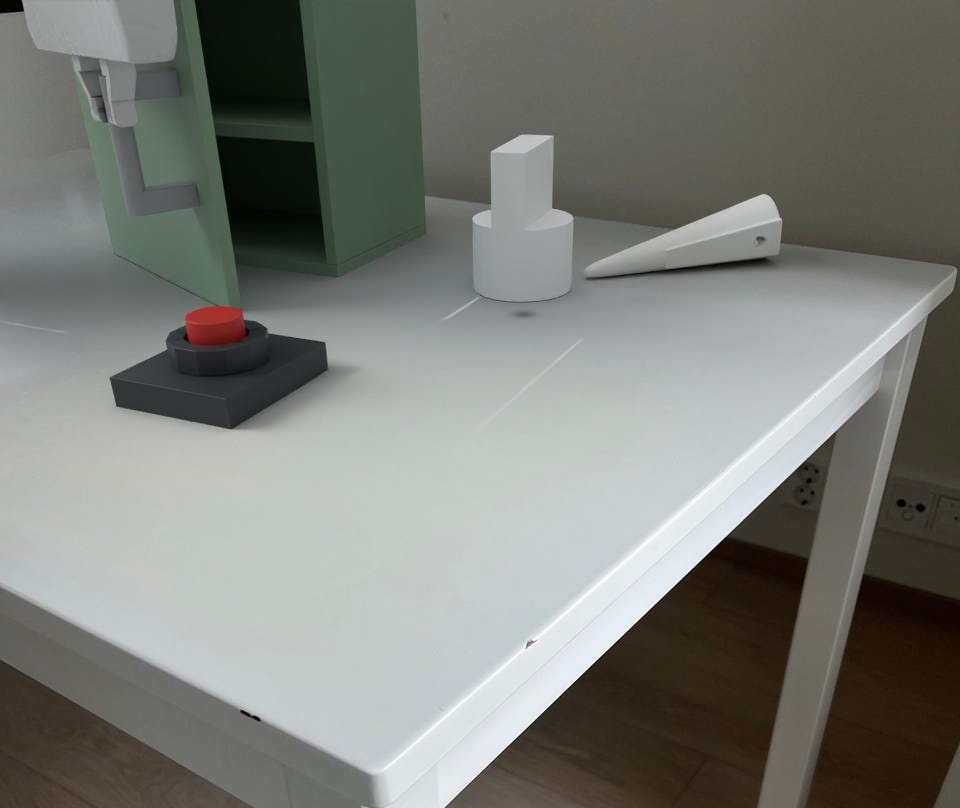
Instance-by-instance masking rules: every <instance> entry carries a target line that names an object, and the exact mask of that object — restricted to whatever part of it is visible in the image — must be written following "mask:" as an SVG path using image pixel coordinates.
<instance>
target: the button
mask: <svg viewBox="0 0 960 808" xmlns="http://www.w3.org/2000/svg"><path fill="white" fill-rule="evenodd" d="M244 320H245V317H244V313H243V311H242V310H240V309H237V308H234V307H227V306H218V305H215V306H207V307H201V308H198V309H195V310H191V311H190V312H188V313H186V315H184V324H185V325H186V329H187V334H188V339H189V343H191V344H197V345H222V344H226V343H231V342H236V341H239V340H241V339H243V338H245V337H246V330H245V324H244Z"/></svg>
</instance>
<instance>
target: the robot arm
mask: <svg viewBox="0 0 960 808" xmlns="http://www.w3.org/2000/svg"><path fill="white" fill-rule="evenodd" d="M21 2H22V6H23V7H22V8H23V11H24V12H23V13H24V17H25V22H26V25H27V29H28V32H29V35H30V37H31V39H32V42H33V43H34V45H35V47H36V48H37V49H38V50H40V51H46V52H53V53H58V54H64V55H65V54H66V55H69V54H71V56H72V60H73V64H74V69H75V72H76V74H77V76H78V78H79V80H80V82H81V85H82V87H83V89H84V91H85V93H86V95H87V96H88V100H89V105H90V109H91V113H92V117H93V119H94V120H96V121H98V122H103V123H108V120H109V122H110V123H111V124H112V125H114V126H118V127H121V128H122V127H130V126H135V125H136V124H137V123H138V117H137V112H136V106H135V101H134V99H135V89H136V78H137V73H136V68H135V64H145V63H157V62H165V61H171V60H173V59H174V57H175V53H176V48H177V40H178V34H177V23H176V15H175V7H174V0H21ZM100 75H103V76H106V85H107V96H108V100H103V95H102V90H101V85H100V81H99V76H100ZM104 102H105V104H104ZM105 106H106V109H105ZM106 110H107V113H108V119H107V114H106Z"/></svg>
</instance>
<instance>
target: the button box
mask: <svg viewBox="0 0 960 808" xmlns="http://www.w3.org/2000/svg"><path fill="white" fill-rule="evenodd" d="M244 324H245V330H246V337H245V338H243V339H241V340H239V341H236V342H231V343H226V344H222V345H197V344H191V343H189V339H188V334H187V329H186V324H185V325H182V326H181V327H177V328H176V329H174V330H172V331H170V332H169V333H168V335H167V337H166V338H165V345H166V346H165V347H166V349H165V350H163V351H160V352H159V353H157V354H154V355H153V356H150V357H149V358H147V359H144V360H142V361H140V362H138V363H136V364H134V365H132V366H130V367H128V368H125V369H123V370H122V371H120V372H118V373H115V374H113V375H111V376H109V381H110V386H111V390H112V394H113V398H114V402H115V403H114V404H115V406H116V407H117V408H121V409H126V410H131V411H136V412H142V413H147V414H152V415H157V416H162V417H167V418H172V419H176V420H182V421H186V422H192V423H197V424H202V425H207V426H212V427H217V428H223V429H227V430H233V429H235V428H236V427H238V426H240V425H241V424H243V423H245V422H246V421H248V420H250V419H251V418H252V417H254V416H256V415H257V414H259V413H261V412H262V411H264V410H266V409H267V408H269V407H271V406H272V405H274V404H275V403H277V402H279V401H280V400H282V399H284V398H285V397H287V396H289V395H291V394H292V393H293V392H295V391H296V390H298V389H300V388H302V387H303V386H305V385H306V384H308V383H310V382H312V381H313V380H314V379H317V378H318V377H319V376H321V374H324V373H325V372H327V371H328V370H329V360H328V353H327V344H326V342H325V341H323V340H316V339H315V340H314V339H307V338H301V337H295V336H289V335H283V334H276V333H270V332H269V329H268V327H266V326H265V325H263V324H262V323H260V322H258V321H256V320H250V319H244Z"/></svg>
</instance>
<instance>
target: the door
mask: <svg viewBox="0 0 960 808" xmlns="http://www.w3.org/2000/svg"><path fill="white" fill-rule="evenodd" d="M174 7H175V15H176V23H177V34H178V40H177V48H176V53H175V57H174V59H173V60H171V61H165V62H157V63H145V64H135V68H136V73H137V78H136V89H135V99H134V101H135V106H136V112H137V117H138V123H137V124H136V125H135V126H130V127H122V128H121V127H118V126H114V125H112V124H111V123H110V122H109V120H108V123H103V122H98V121H96V120H94V119H93V117H92V113H91V109H90V105H89V100H88V96H87V95H86V93H85V91H84V89H83V87H82V85H81V82H80V80H79V78H78V76H77V74H76V72H75V69H74V64H73V60H72V56H71V54H68V55H69V59H70V64H71V68H72V73H73V77H74V81H75V82H74V83H75V86H76V89H77V95H78V99H79V104H80V108H81V113H82V117H83V122H84V127H85V130H86V136H87V141H88V144H89V148H90V152H91V153H90V154H91V158H92V163H93V167H94V171H95V177H96V180H97V185H98V189H99V194H100V198H101V202H102V203H101V204H102V209H103V213H104V216H105V221H106V225H107V230H108V235H109V239H110V243H111V247H112V248H111V249H112V253H113V254H115V255H117V256H119V257H120V258H123V259H124V260H127V261H128V262H130V263H133V264H134V265H136V266H139V267H141V268H142V269H145V270H147V271H148V272H150V273H152V274H154V275H156V276H158V277H161V278H162V279H164V280H166V281H168V282H170V283H172V284H174V285H176V286H178V287H180V288H182V289H184V290H186V291H189V292H190V293H192V294H194V295H196V296H198V297H200V298H202V299H204V300H206V301H208V302H209V303H212V304H213V305H215V306H227V307H234V308H237V309H240V310H241V311H242V310H243V305H242V298H241V291H240V286H239V285H240V284H239V279H238V272H237V265H235V259H234V252H233V246H232V239H231V233H230V226H229V220H228V214H227V207H226V201H225V194H224V188H223V181H222V175H221V168H220V162H219V155H218V149H217V143H216V136H215V130H214V123H213V117H212V110H211V104H210V97H209V91H208V84H207V78H206V72H205V65H204V59H203V52H202V46H201V39H200V33H199V26H198V20H197V13H196V7H195V1H194V0H174ZM99 81H100V85H101V90H102V95H103V100H108V96H107V85H106V76H103V75H100V76H99ZM104 104H105V102H104ZM105 109H106V106H105ZM106 114H107V119H108V113H107V110H106Z"/></svg>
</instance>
